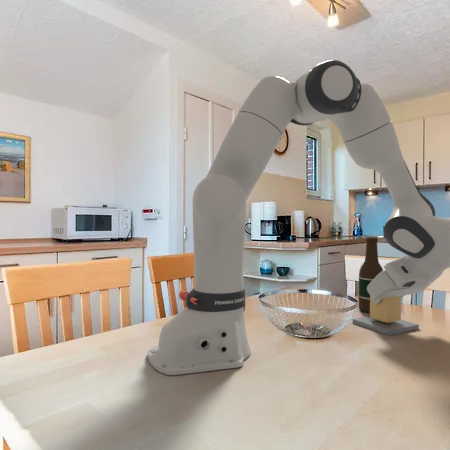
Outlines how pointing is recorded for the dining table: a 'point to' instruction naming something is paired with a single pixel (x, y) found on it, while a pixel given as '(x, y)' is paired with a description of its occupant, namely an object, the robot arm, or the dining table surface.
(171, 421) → the dining table surface
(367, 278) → the beer bottle
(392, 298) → the tan toy brick
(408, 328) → the plate
